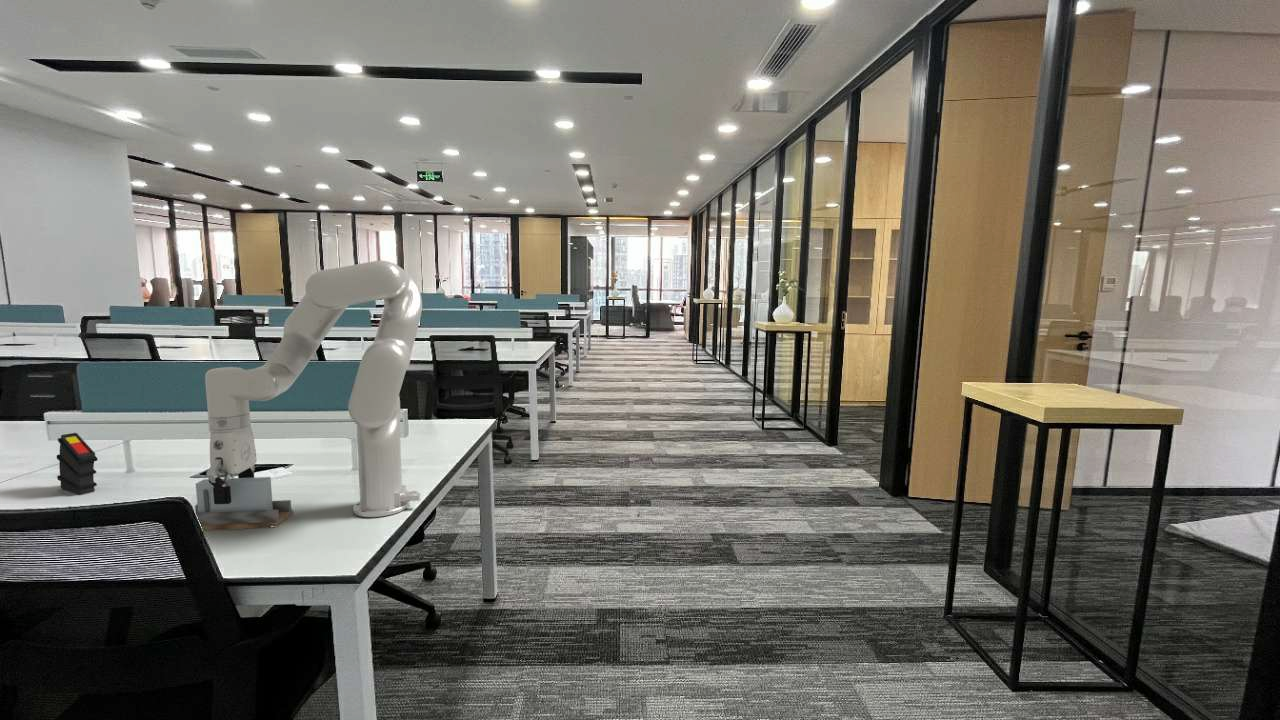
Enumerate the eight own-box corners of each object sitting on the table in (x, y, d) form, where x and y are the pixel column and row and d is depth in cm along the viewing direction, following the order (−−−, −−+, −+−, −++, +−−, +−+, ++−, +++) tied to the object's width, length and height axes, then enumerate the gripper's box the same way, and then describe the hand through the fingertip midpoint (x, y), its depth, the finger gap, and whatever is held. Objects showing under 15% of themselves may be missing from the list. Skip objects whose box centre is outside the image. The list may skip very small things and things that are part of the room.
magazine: (71, 477, 153) (77, 431, 149) (94, 504, 149) (101, 458, 144) (52, 481, 150) (58, 434, 145) (75, 509, 145) (82, 462, 141)
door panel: (273, 514, 131) (270, 476, 130) (265, 519, 127) (263, 481, 126) (207, 517, 129) (203, 479, 127) (197, 523, 125) (194, 484, 124)
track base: (292, 513, 134) (291, 499, 133) (276, 527, 126) (275, 512, 125) (200, 517, 131) (199, 503, 130) (177, 531, 123) (176, 516, 123)
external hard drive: (232, 482, 157) (282, 471, 166) (241, 488, 152) (292, 477, 161) (232, 476, 157) (282, 466, 166) (241, 483, 152) (292, 472, 161)
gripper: (225, 431, 118) (231, 509, 120) (267, 413, 135) (272, 482, 137) (186, 432, 117) (193, 511, 119) (233, 414, 134) (238, 483, 136)
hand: (235, 495), depth 128 cm, fingers open, 9 cm apart
